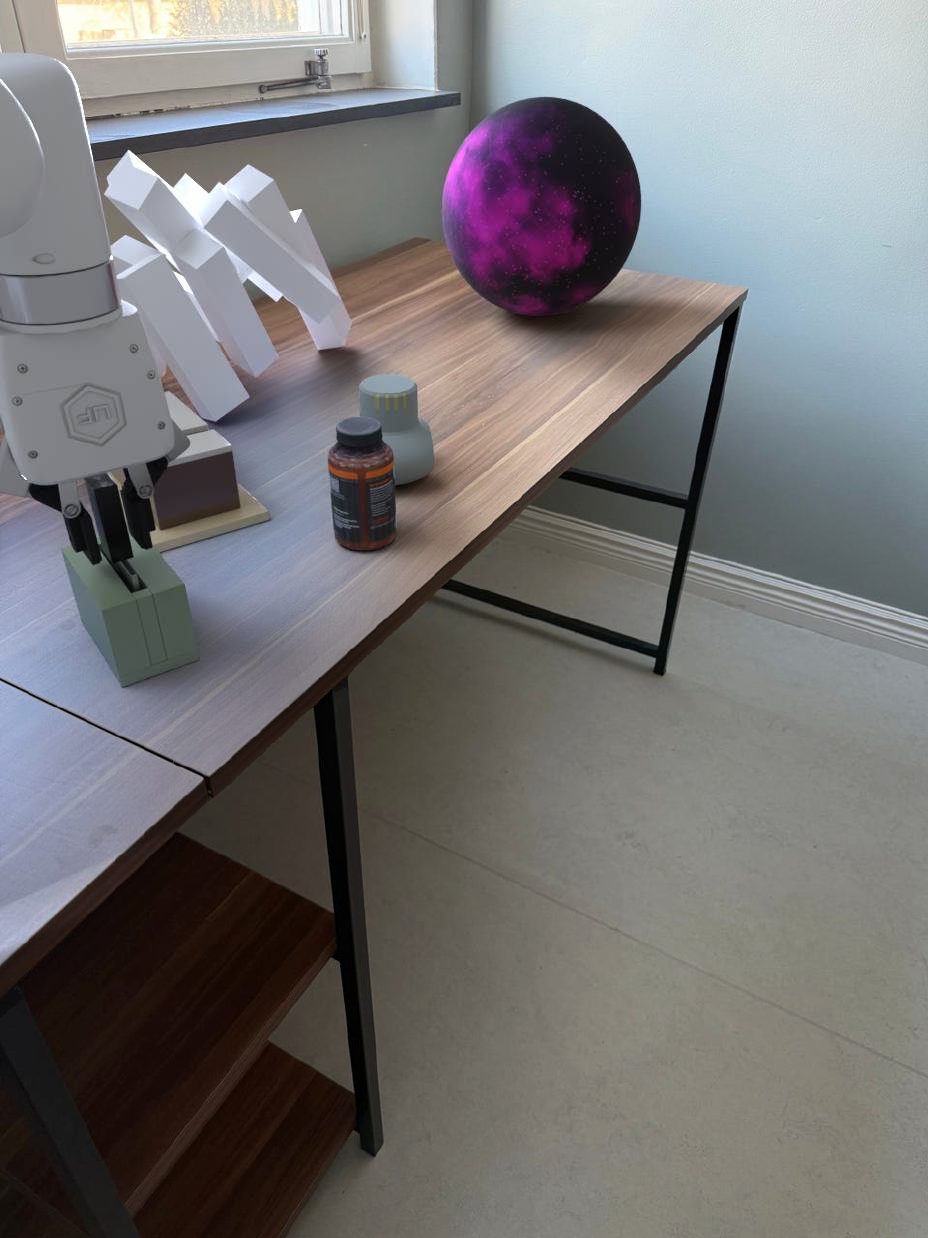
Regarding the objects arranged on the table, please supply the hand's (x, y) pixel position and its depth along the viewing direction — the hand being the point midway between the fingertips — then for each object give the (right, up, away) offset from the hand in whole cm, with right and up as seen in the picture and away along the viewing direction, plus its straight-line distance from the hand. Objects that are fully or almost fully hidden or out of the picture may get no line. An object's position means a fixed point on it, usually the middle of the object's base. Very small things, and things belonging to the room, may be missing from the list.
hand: (116, 546), depth 65 cm
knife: (0, -6, +4) cm, 8 cm away
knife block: (0, -7, +5) cm, 9 cm away
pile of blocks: (-4, +26, +52) cm, 58 cm away
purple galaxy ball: (+37, +44, +78) cm, 97 cm away
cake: (-4, +7, +25) cm, 26 cm away
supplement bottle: (+16, +2, +19) cm, 25 cm away
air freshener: (+18, +10, +30) cm, 36 cm away
